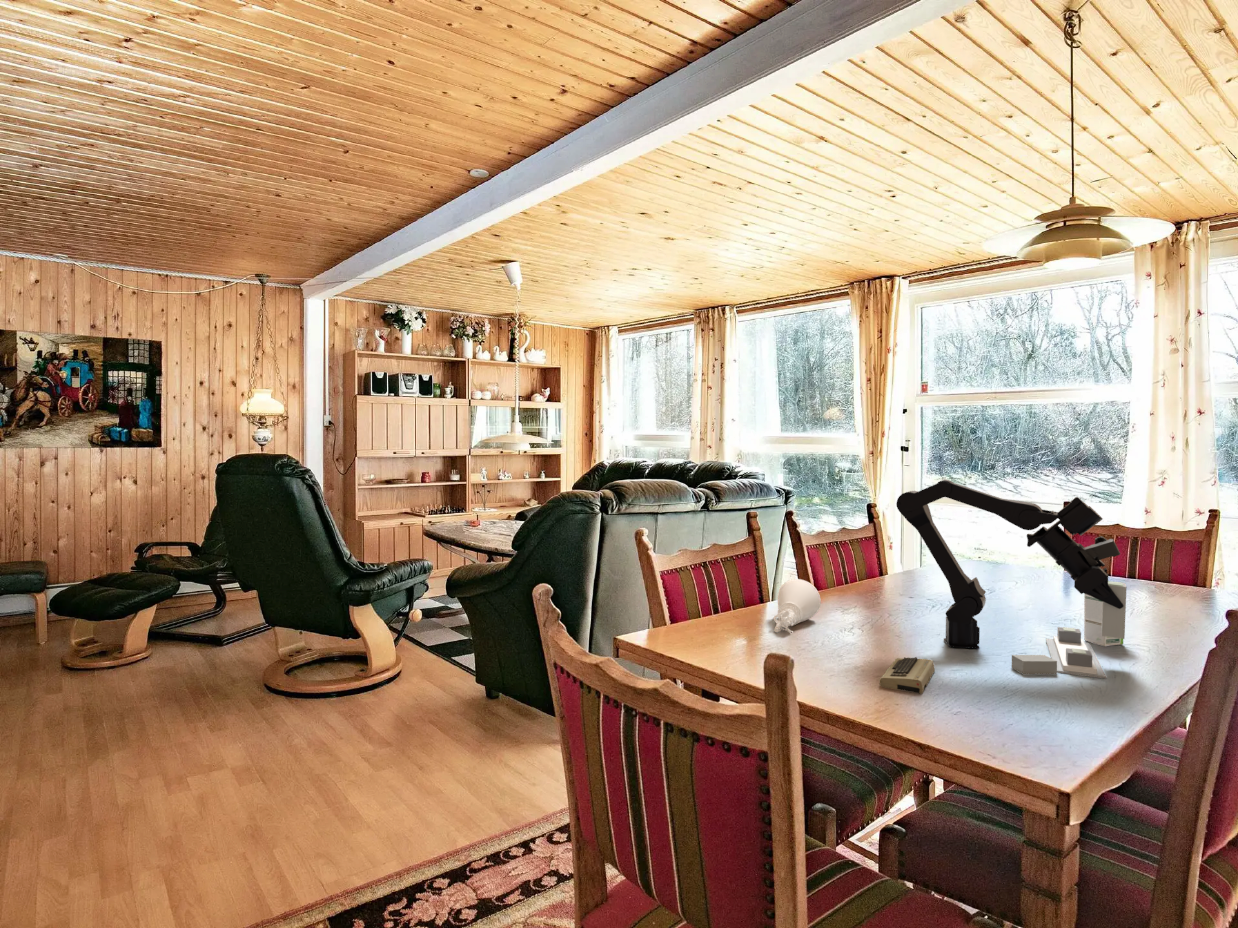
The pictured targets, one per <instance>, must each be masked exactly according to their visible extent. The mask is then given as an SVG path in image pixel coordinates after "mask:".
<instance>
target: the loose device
mask: <svg viewBox="0 0 1238 928" xmlns="http://www.w3.org/2000/svg"><path fill="white" fill-rule="evenodd" d="M1011 669H1012V670H1015V671H1016V672H1018V673H1020V674H1022V675H1057V674H1058V673H1057V661H1055V660H1053V659H1051V657H1049V656H1047V655H1046V654H1011Z"/></svg>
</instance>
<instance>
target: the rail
mask: <svg viewBox="0 0 1238 928" xmlns="http://www.w3.org/2000/svg"><path fill="white" fill-rule="evenodd" d="M1045 643H1046V644H1047V645H1046V646H1047V649H1048V653H1049V656H1050V658H1051V659H1053V660H1055V661H1057V674H1066V675H1073V676H1082V677H1091V678H1097V679H1099V678H1100V679H1107V675H1106V673H1105V671H1104V669H1103V667H1102V665H1101V663H1100V661H1099V659H1098V658H1097V654H1096V653H1095V651H1094V648H1093V647H1092V644H1091V642H1085V640H1084V639H1083V638H1081V644H1078V643H1068V642H1059V641H1058V638H1057V635H1056V636H1055V635H1053V637H1052V638H1045ZM1066 648H1069V649H1072V648H1073V649H1083V650H1087V651H1090V652H1091V654H1092V668H1091V667H1082V666H1074V665H1067V662H1066Z"/></svg>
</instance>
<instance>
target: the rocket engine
mask: <svg viewBox="0 0 1238 928" xmlns="http://www.w3.org/2000/svg"><path fill="white" fill-rule="evenodd" d="M777 594H778V595H777V609H778V610H777V614H775V615H774V617H773V621H774V622H775V623H776V625H775V627H774V631H775V633H776V632H779V633H781V632H782V631H783V630H785V631H784V632H787V633H790V634H792V633H794V631H793V630H791V629H789V627H790V626H791V627H793V626H795V625H798V624H799V623H803V622H806V621H807V620H809V619H812V617H814V616H815V615H816V614H817V613H818V612H819V610H820V608H821V604H822V602H821V601H822V600H821V595H820V593H819V590H817V588H816V587H815V586H814V585H813V584H812V583H810V582H809V581H807V580H804V579H801V578H794V579H793V578H792V579H789V580H787V581H785V582H784V583H783V584H782V585H781V586H780V588H779V590H778V593H777ZM777 618H778V619H777ZM774 631H773V632H774ZM791 632H792V633H791Z"/></svg>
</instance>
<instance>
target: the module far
mask: <svg viewBox="0 0 1238 928" xmlns="http://www.w3.org/2000/svg"><path fill="white" fill-rule="evenodd" d="M1056 636H1057V638H1058V641H1059V642H1068V643H1078V644H1081V639H1082V632H1081V630H1080V629H1079V628H1075V627H1066V626H1063V627H1062V626H1061V627H1060V626H1058V627H1057V635H1056Z"/></svg>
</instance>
